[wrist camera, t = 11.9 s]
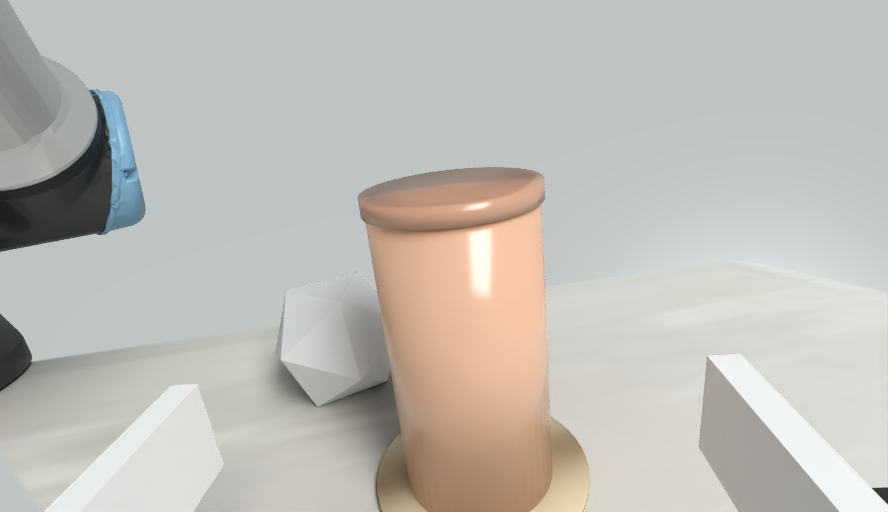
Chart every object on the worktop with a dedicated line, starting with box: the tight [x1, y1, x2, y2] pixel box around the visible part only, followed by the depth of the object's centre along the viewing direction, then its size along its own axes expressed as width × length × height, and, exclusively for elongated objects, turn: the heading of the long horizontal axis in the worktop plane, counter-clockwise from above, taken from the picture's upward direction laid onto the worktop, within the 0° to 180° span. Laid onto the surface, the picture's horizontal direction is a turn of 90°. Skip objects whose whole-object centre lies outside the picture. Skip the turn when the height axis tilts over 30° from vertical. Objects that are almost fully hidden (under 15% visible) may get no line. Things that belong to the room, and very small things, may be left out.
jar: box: [358, 167, 552, 512], centre depth 23 cm, size 8×8×15 cm
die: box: [276, 272, 390, 407], centre depth 33 cm, size 8×9×10 cm
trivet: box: [377, 416, 589, 512], centre depth 25 cm, size 11×11×1 cm
